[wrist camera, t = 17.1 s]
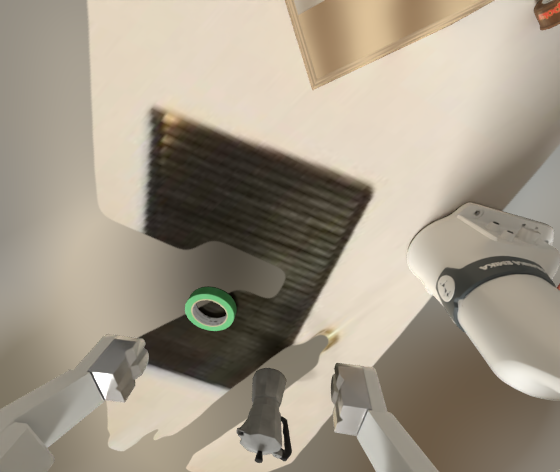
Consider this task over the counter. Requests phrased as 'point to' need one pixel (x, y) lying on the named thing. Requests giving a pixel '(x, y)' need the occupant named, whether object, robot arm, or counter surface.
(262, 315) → the counter surface
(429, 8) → the carton
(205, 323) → the tape roll
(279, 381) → the coffeepot
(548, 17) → the tin
